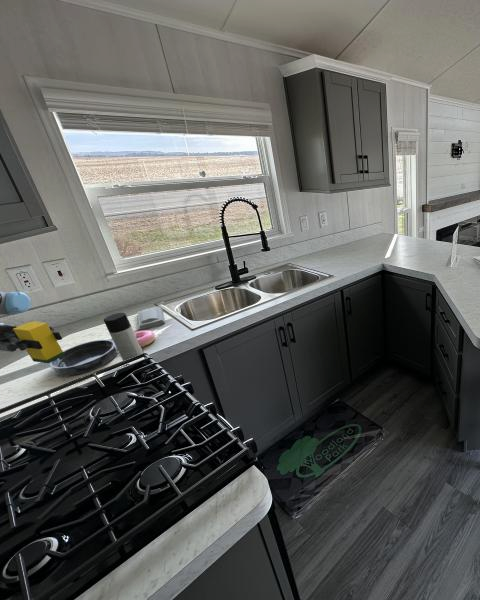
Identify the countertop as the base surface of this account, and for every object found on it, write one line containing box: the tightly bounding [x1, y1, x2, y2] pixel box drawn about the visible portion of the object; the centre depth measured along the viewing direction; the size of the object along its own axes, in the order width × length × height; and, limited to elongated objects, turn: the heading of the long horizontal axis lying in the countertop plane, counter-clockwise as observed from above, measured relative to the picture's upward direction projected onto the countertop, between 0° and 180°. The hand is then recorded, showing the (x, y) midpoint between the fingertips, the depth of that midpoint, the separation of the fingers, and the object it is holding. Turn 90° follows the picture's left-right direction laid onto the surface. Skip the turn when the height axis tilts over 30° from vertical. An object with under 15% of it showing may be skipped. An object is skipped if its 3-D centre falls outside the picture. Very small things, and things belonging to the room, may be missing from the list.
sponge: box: [13, 320, 65, 365], centre depth 111 cm, size 7×5×13 cm
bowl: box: [49, 339, 119, 377], centre depth 128 cm, size 19×19×4 cm
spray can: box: [103, 312, 144, 362], centre depth 124 cm, size 7×7×20 cm
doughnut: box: [134, 329, 156, 348], centre depth 139 cm, size 11×11×4 cm
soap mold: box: [137, 305, 166, 331], centre depth 160 cm, size 10×20×4 cm, turn 37°
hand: (49, 340), depth 109 cm, fingers closed on sponge, 5 cm apart
